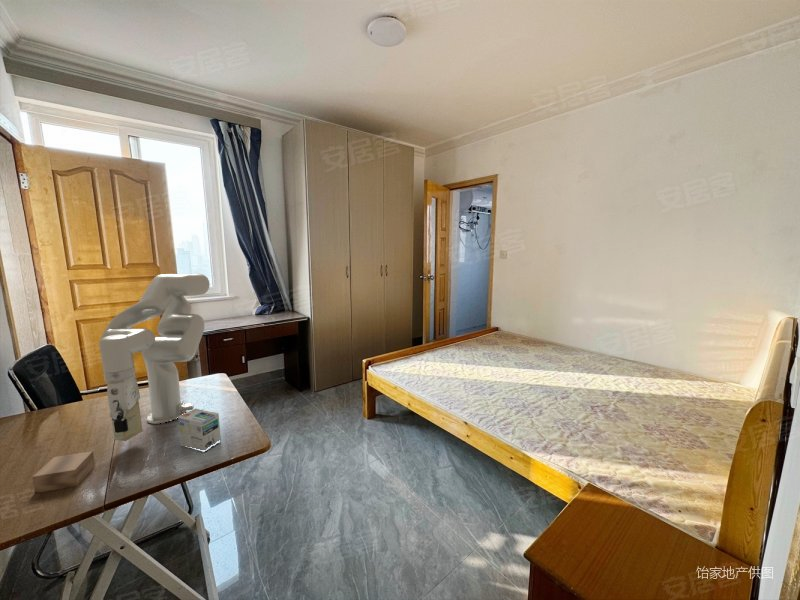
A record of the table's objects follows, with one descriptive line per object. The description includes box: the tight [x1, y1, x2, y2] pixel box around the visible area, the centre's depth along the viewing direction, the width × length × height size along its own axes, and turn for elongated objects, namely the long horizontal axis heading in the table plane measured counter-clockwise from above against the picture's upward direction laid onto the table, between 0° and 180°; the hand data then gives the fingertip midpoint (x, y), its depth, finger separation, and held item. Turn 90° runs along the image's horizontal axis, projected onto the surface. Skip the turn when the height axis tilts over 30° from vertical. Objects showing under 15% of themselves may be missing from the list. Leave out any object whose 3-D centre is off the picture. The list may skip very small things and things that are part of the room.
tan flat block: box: [32, 451, 96, 493], centre depth 94 cm, size 9×9×5 cm
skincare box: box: [110, 398, 144, 442], centre depth 108 cm, size 6×4×12 cm
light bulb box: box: [177, 408, 222, 450], centre depth 110 cm, size 11×7×11 cm, turn 71°
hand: (127, 424), depth 108 cm, fingers closed on skincare box, 7 cm apart
